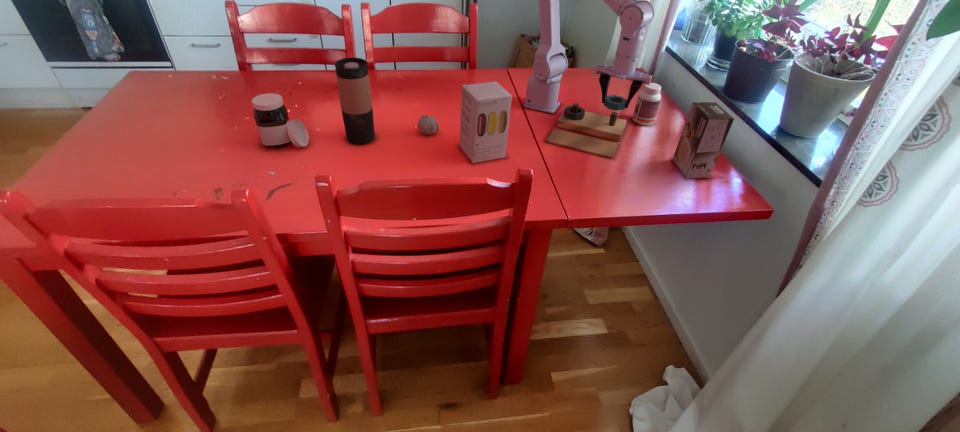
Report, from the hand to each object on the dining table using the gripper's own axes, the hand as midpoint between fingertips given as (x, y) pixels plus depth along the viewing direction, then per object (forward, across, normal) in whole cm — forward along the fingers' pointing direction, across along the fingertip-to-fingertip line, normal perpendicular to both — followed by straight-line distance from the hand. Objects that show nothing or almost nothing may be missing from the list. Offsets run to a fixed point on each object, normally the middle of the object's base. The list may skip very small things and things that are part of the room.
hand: (614, 104), depth 124 cm
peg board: (+9, -5, +2) cm, 10 cm away
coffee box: (+9, +23, -8) cm, 26 cm away
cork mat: (+9, -5, -9) cm, 14 cm away
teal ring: (0, 0, 0) cm, 0 cm away
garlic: (+9, -44, -24) cm, 51 cm away
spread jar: (+9, -73, -46) cm, 87 cm away
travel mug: (+9, -58, -35) cm, 69 cm away
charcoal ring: (+7, -11, +2) cm, 13 cm away
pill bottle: (+9, +8, +13) cm, 17 cm away
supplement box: (+9, -27, -26) cm, 39 cm away
